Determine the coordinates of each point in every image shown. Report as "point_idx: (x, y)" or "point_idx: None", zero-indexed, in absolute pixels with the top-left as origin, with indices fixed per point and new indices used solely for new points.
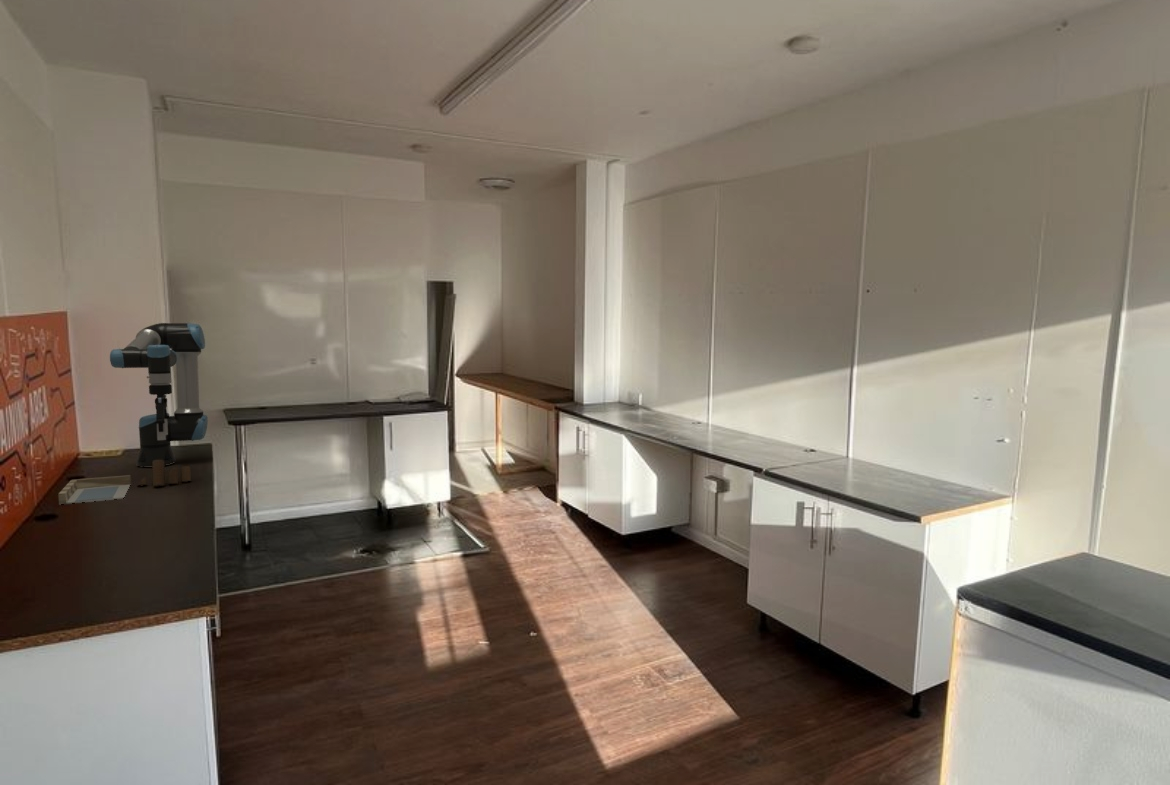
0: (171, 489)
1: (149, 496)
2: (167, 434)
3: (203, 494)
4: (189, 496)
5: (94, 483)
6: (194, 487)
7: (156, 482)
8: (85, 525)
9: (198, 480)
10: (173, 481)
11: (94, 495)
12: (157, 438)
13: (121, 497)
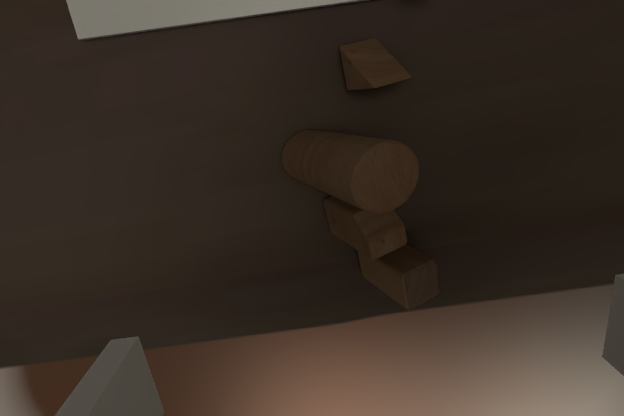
0: (245, 217)
1: (118, 151)
2: (606, 358)
3: None
4: (91, 307)
5: None
6: (259, 298)
7: (285, 154)
8: None
9: None
10: (329, 218)
11: None
12: (95, 361)
13: (75, 26)
